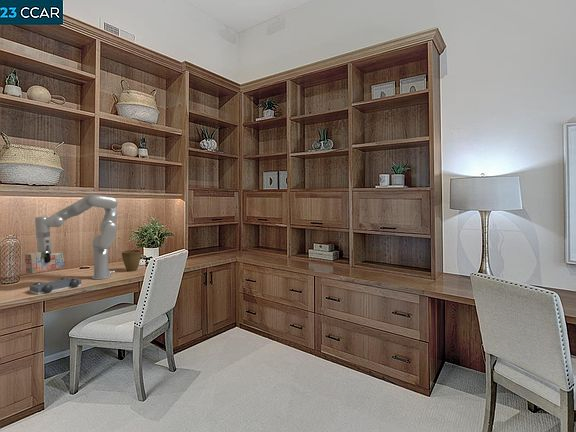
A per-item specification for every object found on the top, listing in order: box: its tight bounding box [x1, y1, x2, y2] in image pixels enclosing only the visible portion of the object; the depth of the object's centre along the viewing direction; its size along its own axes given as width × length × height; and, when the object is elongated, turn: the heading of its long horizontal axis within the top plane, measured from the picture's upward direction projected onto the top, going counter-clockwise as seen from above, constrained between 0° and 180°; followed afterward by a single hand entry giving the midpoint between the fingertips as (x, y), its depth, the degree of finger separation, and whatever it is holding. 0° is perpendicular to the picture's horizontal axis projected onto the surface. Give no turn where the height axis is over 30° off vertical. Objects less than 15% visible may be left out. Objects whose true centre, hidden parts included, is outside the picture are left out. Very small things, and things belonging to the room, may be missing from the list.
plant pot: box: [121, 249, 142, 272], centre depth 278 cm, size 15×15×16 cm
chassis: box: [29, 277, 82, 295], centre depth 220 cm, size 26×13×5 cm, turn 150°
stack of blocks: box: [24, 251, 65, 274], centre depth 228 cm, size 21×6×12 cm, turn 159°
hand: (44, 261), depth 227 cm, fingers closed on stack of blocks, 6 cm apart
